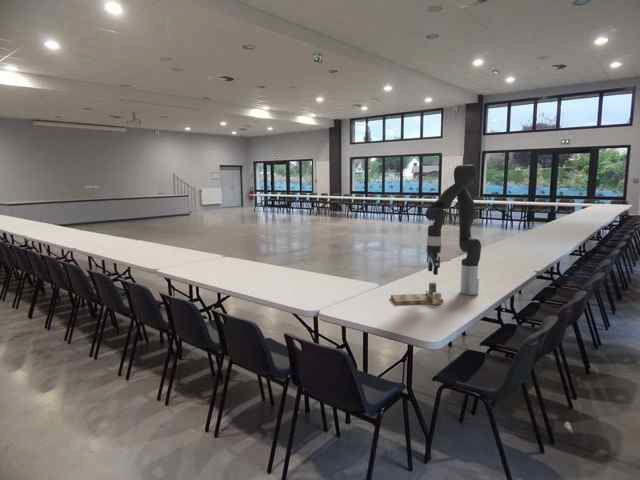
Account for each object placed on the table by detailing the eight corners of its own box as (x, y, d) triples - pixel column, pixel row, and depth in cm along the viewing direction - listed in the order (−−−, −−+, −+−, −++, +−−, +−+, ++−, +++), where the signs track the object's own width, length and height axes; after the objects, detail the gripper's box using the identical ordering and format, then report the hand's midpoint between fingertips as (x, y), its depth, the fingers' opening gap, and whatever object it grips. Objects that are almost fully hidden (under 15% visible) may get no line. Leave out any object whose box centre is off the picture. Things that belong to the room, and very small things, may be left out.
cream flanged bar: (431, 295, 234) (432, 280, 233) (440, 304, 219) (441, 287, 218) (424, 296, 234) (425, 280, 233) (433, 304, 219) (434, 287, 217)
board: (435, 296, 233) (435, 293, 233) (442, 303, 222) (443, 299, 221) (390, 298, 232) (390, 294, 232) (396, 304, 220) (396, 301, 220)
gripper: (445, 246, 216) (443, 275, 218) (436, 241, 230) (435, 269, 232) (431, 246, 215) (430, 276, 218) (423, 242, 229) (422, 270, 232)
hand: (432, 272), depth 225 cm, fingers open, 8 cm apart
